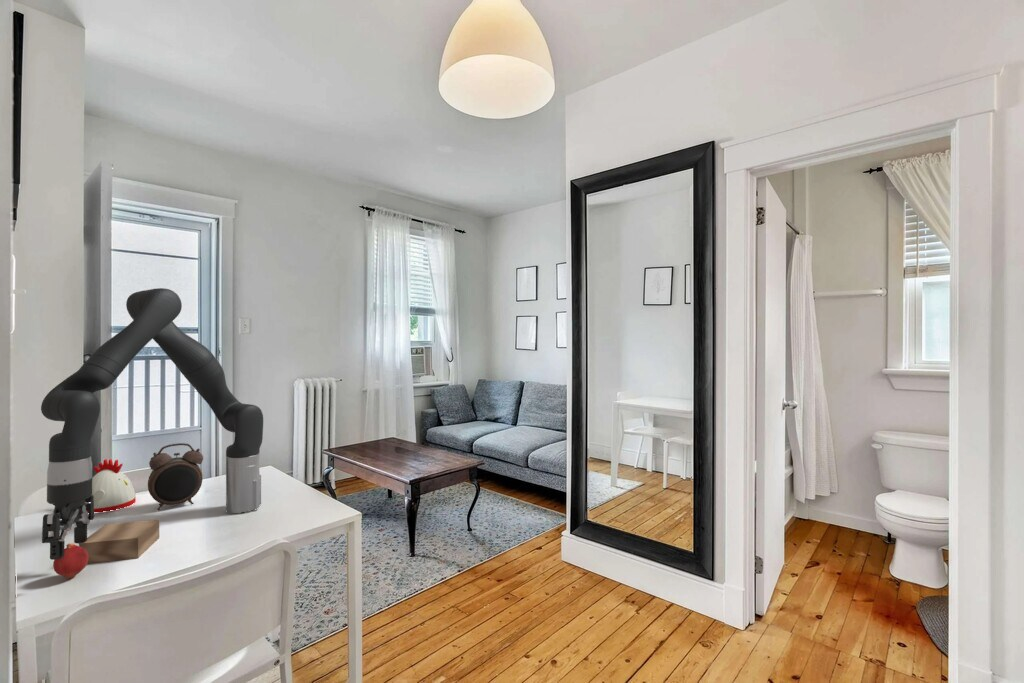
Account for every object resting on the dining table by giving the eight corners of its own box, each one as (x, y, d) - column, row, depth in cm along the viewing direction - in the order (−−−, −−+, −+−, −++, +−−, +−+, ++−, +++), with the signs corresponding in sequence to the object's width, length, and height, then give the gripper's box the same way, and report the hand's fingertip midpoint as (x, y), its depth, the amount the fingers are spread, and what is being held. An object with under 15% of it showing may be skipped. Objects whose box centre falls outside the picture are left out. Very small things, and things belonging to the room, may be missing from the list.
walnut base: (159, 537, 128) (159, 519, 128) (138, 558, 117) (138, 537, 117) (106, 543, 125) (106, 524, 125) (79, 564, 114) (79, 543, 114)
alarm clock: (148, 514, 145) (147, 449, 144) (147, 507, 150) (147, 445, 150) (204, 504, 154) (204, 443, 154) (202, 498, 159) (201, 439, 159)
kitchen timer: (114, 513, 146) (114, 465, 145) (66, 514, 144) (66, 465, 144) (145, 498, 159) (145, 453, 159) (102, 498, 158) (102, 454, 158)
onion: (68, 571, 110) (68, 537, 110) (95, 570, 111) (95, 536, 110) (46, 584, 104) (45, 548, 104) (74, 583, 105) (74, 547, 105)
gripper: (70, 486, 101) (70, 562, 101) (107, 469, 115) (106, 536, 115) (27, 489, 99) (26, 566, 99) (69, 471, 113) (68, 539, 113)
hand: (69, 550), depth 107 cm, fingers open, 8 cm apart
